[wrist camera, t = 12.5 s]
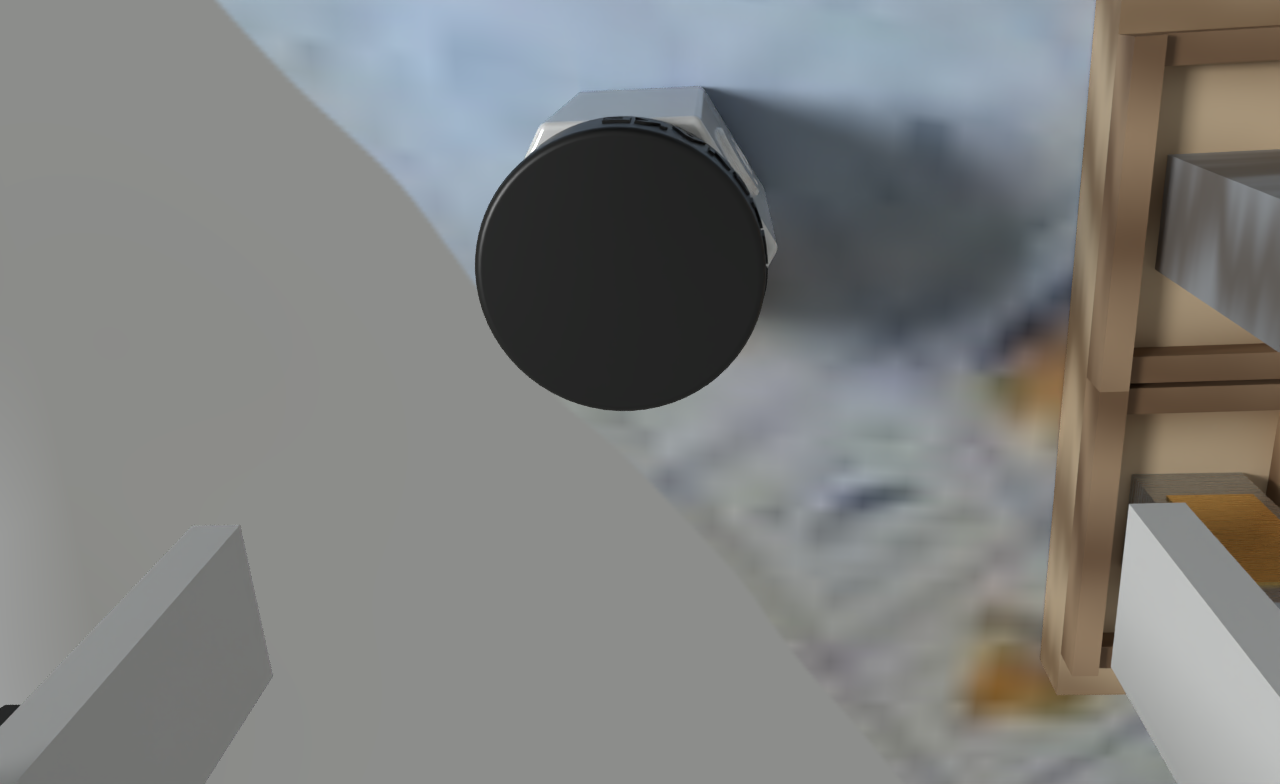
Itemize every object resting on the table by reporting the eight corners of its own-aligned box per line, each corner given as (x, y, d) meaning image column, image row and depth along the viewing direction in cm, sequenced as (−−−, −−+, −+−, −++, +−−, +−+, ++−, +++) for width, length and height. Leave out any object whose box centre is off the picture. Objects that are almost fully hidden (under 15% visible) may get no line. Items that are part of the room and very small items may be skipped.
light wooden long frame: (1098, -31, 37) (1254, -34, 26) (1344, -47, 36) (1606, -56, 26) (1040, 659, 47) (1135, 861, 36) (1231, 657, 46) (1386, 862, 36)
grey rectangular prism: (1132, 471, 41) (1239, 600, 32) (1242, 470, 40) (1379, 598, 32) (1120, 566, 42) (1219, 712, 34) (1226, 565, 42) (1353, 712, 34)
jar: (800, 237, 41) (831, 334, 30) (621, 343, 43) (588, 472, 32) (674, 27, 39) (657, 48, 27) (491, 151, 41) (405, 217, 29)
